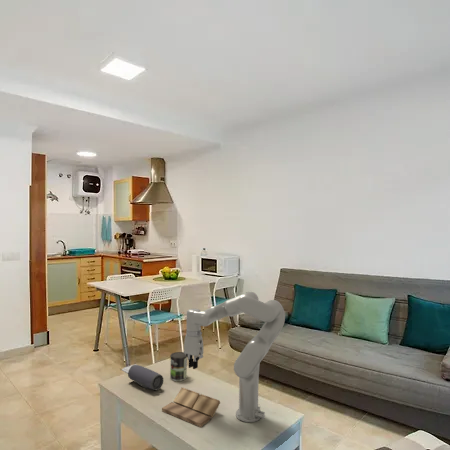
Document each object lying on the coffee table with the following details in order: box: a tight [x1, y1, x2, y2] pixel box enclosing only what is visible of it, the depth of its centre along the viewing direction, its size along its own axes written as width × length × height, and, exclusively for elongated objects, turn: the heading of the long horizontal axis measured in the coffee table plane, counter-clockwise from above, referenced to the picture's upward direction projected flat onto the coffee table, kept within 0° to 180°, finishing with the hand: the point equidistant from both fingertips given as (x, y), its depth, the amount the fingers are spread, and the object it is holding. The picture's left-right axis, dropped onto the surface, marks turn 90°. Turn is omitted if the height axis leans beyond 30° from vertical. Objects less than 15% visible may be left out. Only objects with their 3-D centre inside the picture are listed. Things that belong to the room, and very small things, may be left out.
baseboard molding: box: [120, 363, 137, 374], centre depth 220 cm, size 31×3×12 cm
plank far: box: [173, 387, 201, 410], centre depth 184 cm, size 12×8×2 cm
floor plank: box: [161, 401, 212, 428], centre depth 173 cm, size 25×8×2 cm, turn 56°
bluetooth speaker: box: [127, 364, 164, 391], centre depth 205 cm, size 23×9×10 cm, turn 51°
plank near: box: [191, 393, 221, 419], centre depth 176 cm, size 12×8×2 cm
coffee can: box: [169, 351, 188, 382], centre depth 217 cm, size 10×10×14 cm
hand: (193, 367), depth 185 cm, fingers closed
